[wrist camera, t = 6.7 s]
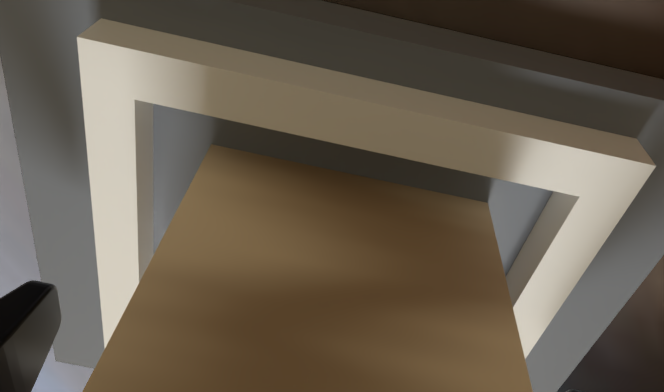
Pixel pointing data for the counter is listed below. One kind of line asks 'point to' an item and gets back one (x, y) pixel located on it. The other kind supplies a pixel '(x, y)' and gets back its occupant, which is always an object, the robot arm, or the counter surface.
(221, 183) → the maple block
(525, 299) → the baseplate
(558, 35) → the counter surface
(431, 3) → the counter surface
